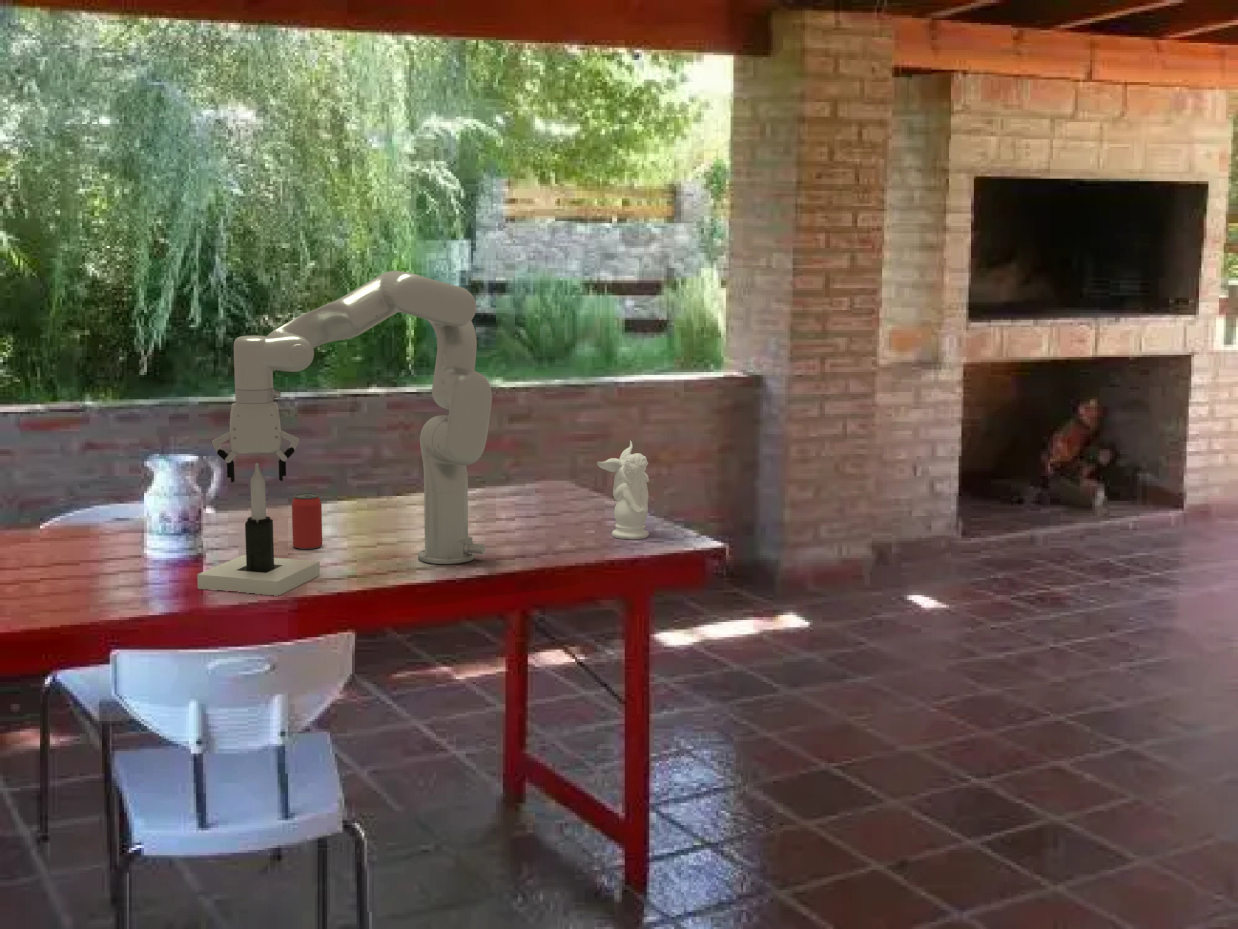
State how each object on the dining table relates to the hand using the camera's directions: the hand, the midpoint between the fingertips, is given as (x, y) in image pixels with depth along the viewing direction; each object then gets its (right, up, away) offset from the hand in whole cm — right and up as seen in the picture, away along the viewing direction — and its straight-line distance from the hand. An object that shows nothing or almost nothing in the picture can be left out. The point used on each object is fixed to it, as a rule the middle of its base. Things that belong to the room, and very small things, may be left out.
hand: (256, 480), depth 319 cm
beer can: (+3, -16, +36) cm, 39 cm away
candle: (0, -21, +4) cm, 21 cm away
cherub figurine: (+75, -14, +51) cm, 91 cm away
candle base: (0, -21, +4) cm, 21 cm away
